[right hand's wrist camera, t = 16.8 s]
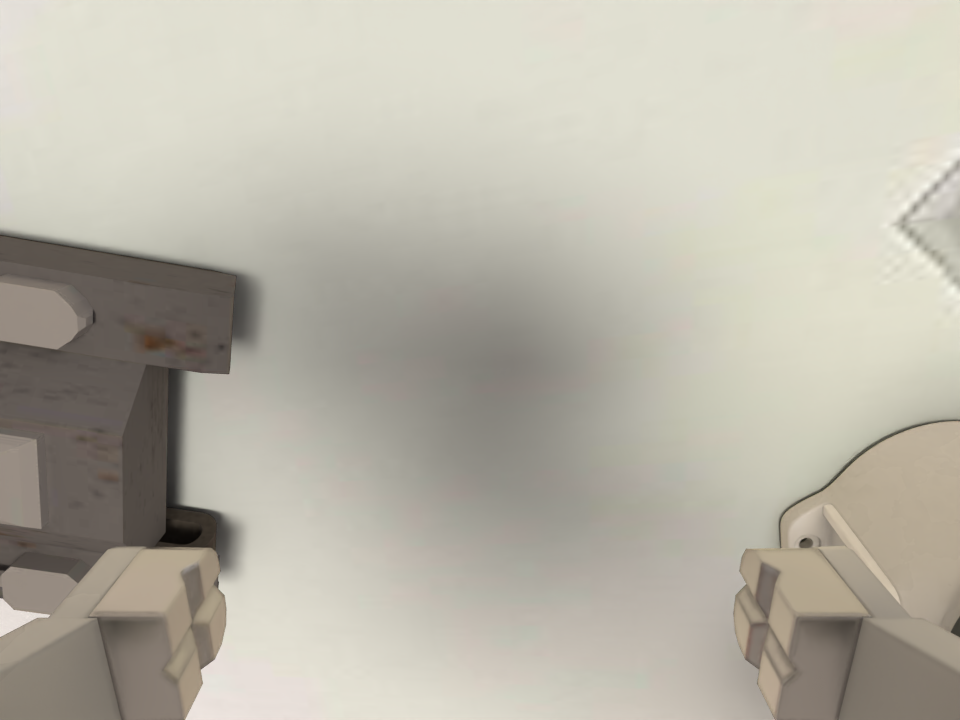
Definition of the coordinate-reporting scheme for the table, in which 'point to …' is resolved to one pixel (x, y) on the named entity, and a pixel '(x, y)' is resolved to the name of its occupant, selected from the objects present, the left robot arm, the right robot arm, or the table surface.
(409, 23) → the table surface
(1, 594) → the toy
